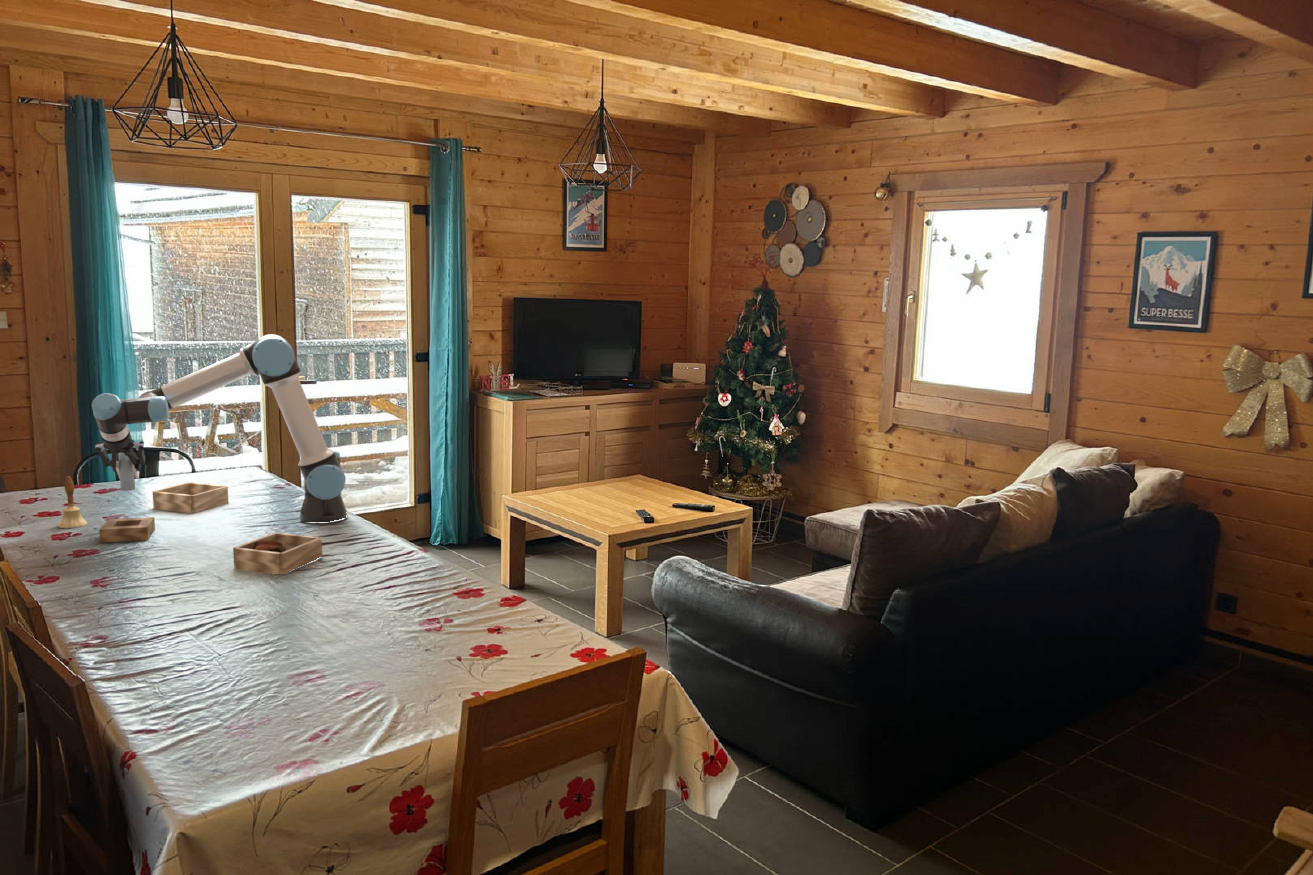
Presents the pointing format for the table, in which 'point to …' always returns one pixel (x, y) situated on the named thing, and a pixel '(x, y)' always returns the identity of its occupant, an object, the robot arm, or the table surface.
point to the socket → (127, 529)
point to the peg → (126, 473)
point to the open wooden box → (278, 554)
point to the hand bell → (71, 509)
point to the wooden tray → (190, 497)
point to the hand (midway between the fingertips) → (129, 475)
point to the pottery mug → (269, 546)
